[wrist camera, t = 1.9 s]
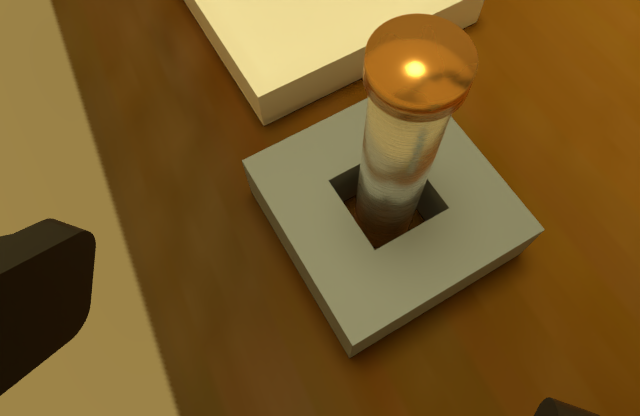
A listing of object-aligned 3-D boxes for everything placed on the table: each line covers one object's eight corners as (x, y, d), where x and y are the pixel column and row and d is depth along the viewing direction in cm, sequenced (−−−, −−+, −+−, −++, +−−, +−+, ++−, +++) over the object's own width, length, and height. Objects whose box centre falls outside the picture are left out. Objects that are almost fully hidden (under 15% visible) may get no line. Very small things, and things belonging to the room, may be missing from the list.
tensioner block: (406, 111, 36) (415, 74, 32) (519, 254, 31) (544, 229, 28) (251, 191, 33) (241, 160, 30) (349, 358, 29) (352, 345, 25)
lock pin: (390, 182, 33) (434, -2, 19) (426, 232, 32) (501, 71, 18) (337, 211, 33) (343, 40, 19) (371, 264, 31) (406, 121, 17)
